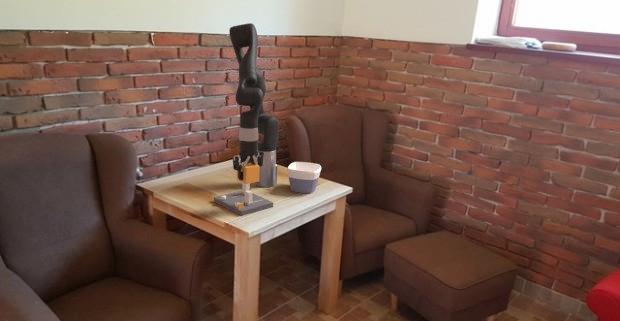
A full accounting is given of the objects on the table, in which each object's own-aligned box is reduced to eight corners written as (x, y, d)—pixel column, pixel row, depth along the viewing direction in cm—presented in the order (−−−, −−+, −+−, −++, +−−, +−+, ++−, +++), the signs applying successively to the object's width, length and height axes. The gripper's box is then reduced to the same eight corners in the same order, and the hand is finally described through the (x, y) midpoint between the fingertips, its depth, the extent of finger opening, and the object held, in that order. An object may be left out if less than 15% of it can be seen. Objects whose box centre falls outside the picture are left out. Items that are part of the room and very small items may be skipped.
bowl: (322, 186, 221) (323, 163, 219) (315, 196, 207) (317, 172, 204) (292, 182, 225) (292, 160, 222) (283, 192, 210) (283, 169, 207)
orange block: (249, 177, 190) (250, 162, 189) (259, 181, 186) (259, 165, 184) (237, 180, 186) (237, 164, 184) (246, 184, 182) (246, 168, 180)
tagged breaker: (248, 201, 191) (249, 189, 189) (253, 203, 189) (254, 191, 187) (243, 203, 189) (243, 191, 187) (248, 205, 186) (248, 193, 185)
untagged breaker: (246, 192, 202) (246, 180, 200) (251, 194, 199) (251, 182, 198) (240, 193, 200) (240, 182, 198) (245, 195, 197) (245, 184, 196)
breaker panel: (244, 193, 206) (244, 185, 205) (273, 206, 192) (273, 197, 191) (213, 201, 195) (213, 192, 194) (241, 215, 181) (241, 206, 180)
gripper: (257, 134, 189) (256, 173, 193) (228, 138, 179) (227, 179, 184) (268, 138, 184) (267, 177, 188) (239, 142, 174) (238, 184, 178)
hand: (248, 178), depth 186 cm, fingers closed on orange block, 6 cm apart
